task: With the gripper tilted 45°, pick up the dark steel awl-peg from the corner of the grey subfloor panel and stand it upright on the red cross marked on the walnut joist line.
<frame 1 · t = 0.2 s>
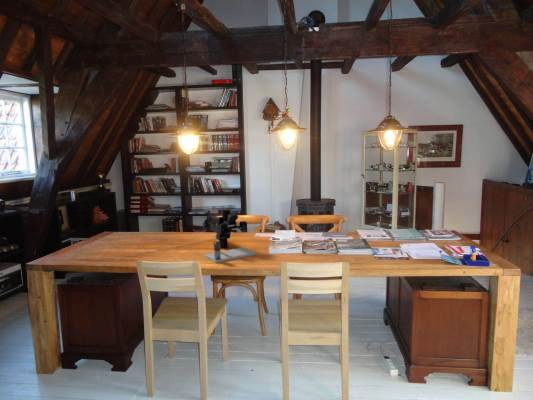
hand: (239, 230, 246), 17 cm above the table, tool horizontal, fingers open, 9 cm apart
awl peg: (217, 259, 237), point 1 cm above the table, touching subfloor panel
subfloor panel: (230, 255, 248), on the table
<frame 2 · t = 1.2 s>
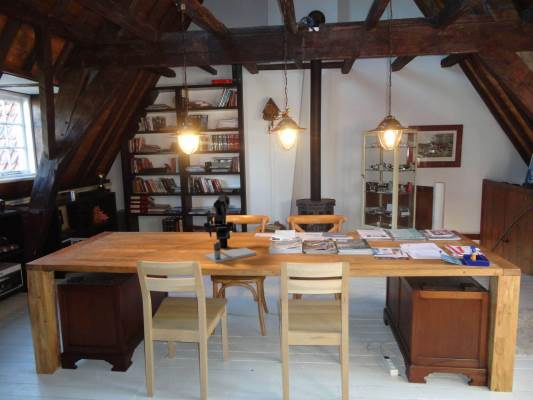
hand: (218, 237, 242), 13 cm above the table, tool tilted 45°, fingers open, 9 cm apart
nothing on the table moved.
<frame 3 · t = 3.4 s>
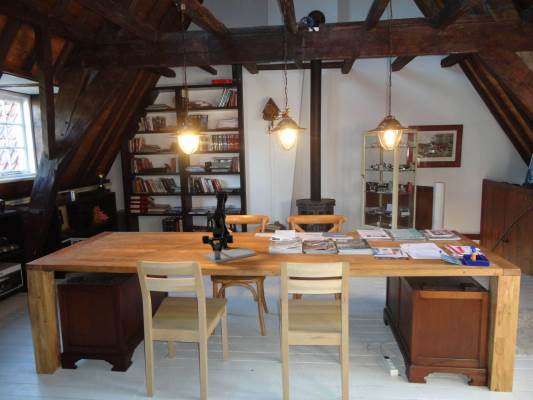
hand: (217, 251, 234), 7 cm above the table, tool tilted 45°, fingers closed on awl peg, 4 cm apart
awl peg: (217, 259, 237), point 2 cm above the table, touching gripper, subfloor panel
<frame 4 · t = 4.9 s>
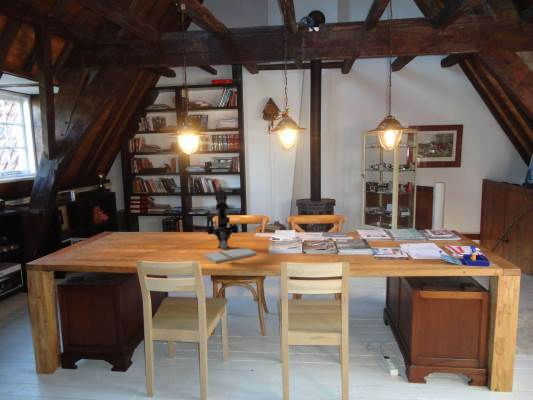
hand: (223, 241, 236), 12 cm above the table, tool tilted 45°, fingers closed on awl peg, 4 cm apart
awl peg: (223, 248, 238), point 7 cm above the table, touching gripper
when the fingers open (8 cm above the table, at t = 6.7 s): awl peg drops 1 cm, resting on subfloor panel.
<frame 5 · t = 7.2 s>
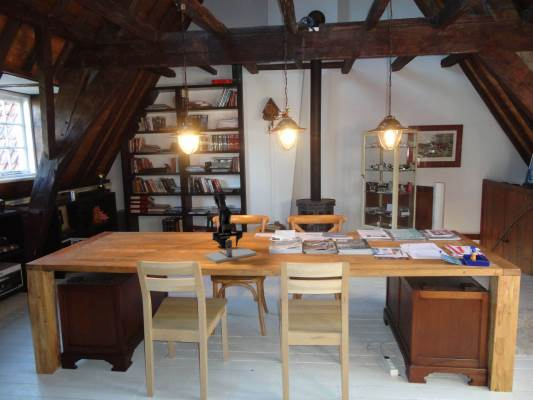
hand: (229, 246, 239), 8 cm above the table, tool tilted 45°, fingers open, 9 cm apart
awl peg: (229, 256, 241), point 2 cm above the table, touching subfloor panel
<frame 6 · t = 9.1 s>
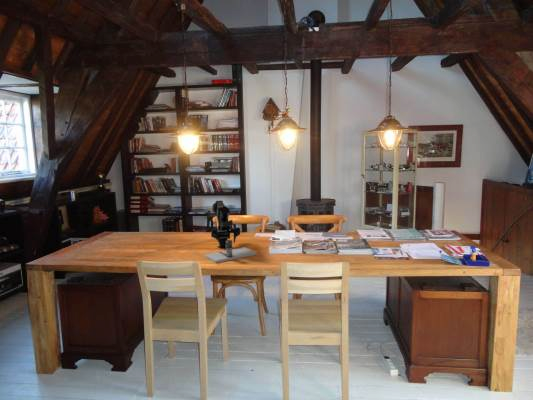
hand: (227, 243, 247), 8 cm above the table, tool tilted 45°, fingers open, 9 cm apart
nothing on the table moved.
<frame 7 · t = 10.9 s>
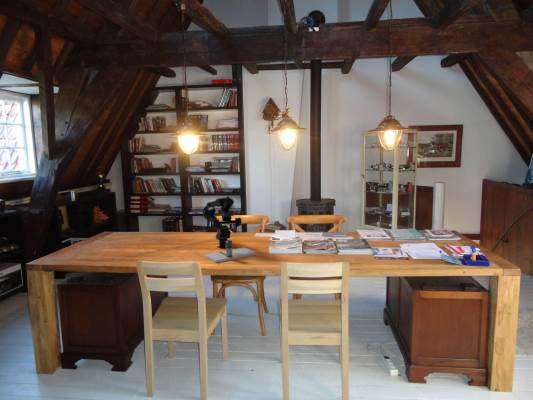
hand: (228, 233, 251), 14 cm above the table, tool tilted 45°, fingers open, 9 cm apart
nothing on the table moved.
at the end: awl peg 0.0 cm from the target spot, point 1.6 cm above the table; awl peg tilted 0°; the gripper is holding nothing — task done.
